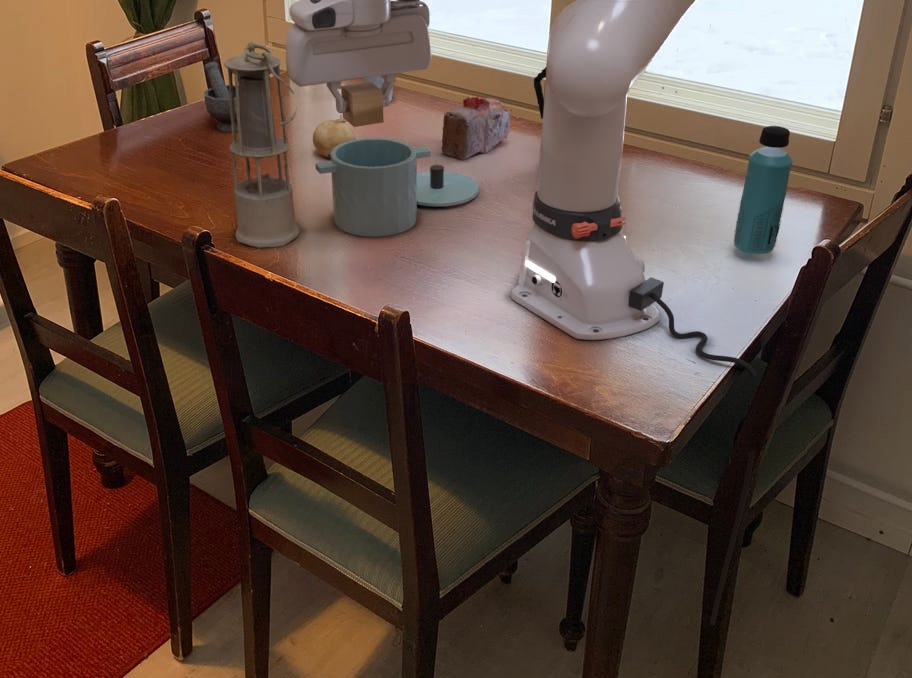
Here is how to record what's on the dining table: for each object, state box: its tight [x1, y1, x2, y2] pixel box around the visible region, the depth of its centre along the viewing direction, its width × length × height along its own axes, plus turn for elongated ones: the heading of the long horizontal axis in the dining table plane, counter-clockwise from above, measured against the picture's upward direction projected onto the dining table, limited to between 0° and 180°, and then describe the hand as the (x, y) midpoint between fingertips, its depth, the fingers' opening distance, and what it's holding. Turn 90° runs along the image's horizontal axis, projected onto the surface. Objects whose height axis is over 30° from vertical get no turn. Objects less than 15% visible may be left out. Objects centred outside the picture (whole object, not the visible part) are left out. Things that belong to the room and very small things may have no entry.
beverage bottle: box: [733, 125, 793, 255], centre depth 151 cm, size 6×7×20 cm
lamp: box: [223, 41, 301, 249], centre depth 153 cm, size 10×13×30 cm
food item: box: [440, 96, 511, 161], centre depth 192 cm, size 14×8×10 cm, turn 142°
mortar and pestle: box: [203, 61, 242, 132], centre depth 201 cm, size 11×9×12 cm
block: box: [340, 82, 385, 128], centre depth 141 cm, size 4×4×4 cm
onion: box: [312, 114, 356, 159], centre depth 190 cm, size 8×8×7 cm
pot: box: [314, 137, 432, 238], centre depth 164 cm, size 14×19×12 cm
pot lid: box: [417, 164, 480, 207], centre depth 175 cm, size 15×15×5 cm
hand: (362, 108), depth 141 cm, fingers closed on block, 4 cm apart
